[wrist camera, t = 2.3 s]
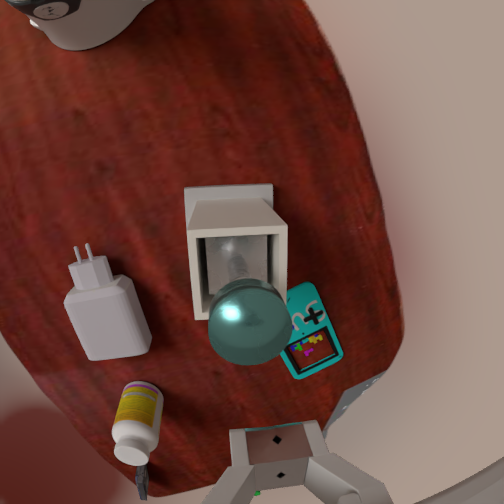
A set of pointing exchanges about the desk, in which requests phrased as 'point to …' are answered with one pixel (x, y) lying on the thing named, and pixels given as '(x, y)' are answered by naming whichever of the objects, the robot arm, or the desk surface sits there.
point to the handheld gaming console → (308, 328)
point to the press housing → (232, 232)
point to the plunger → (244, 301)
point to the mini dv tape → (142, 481)
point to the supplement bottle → (137, 423)
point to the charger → (105, 310)
